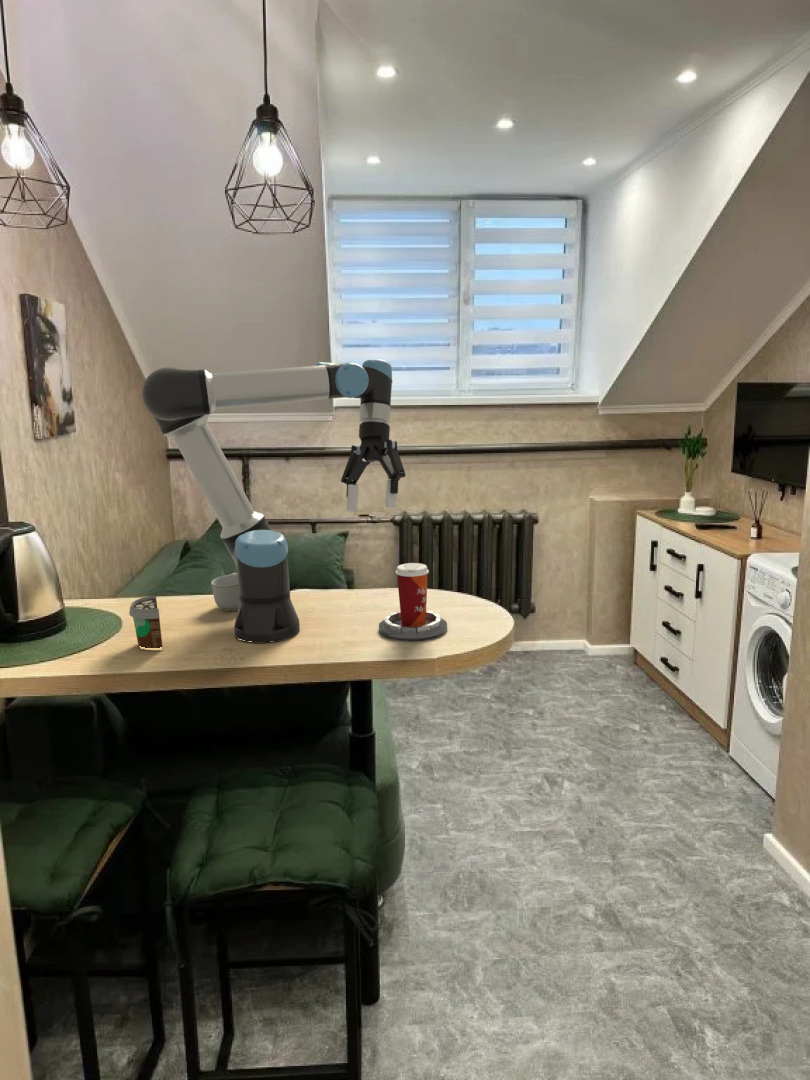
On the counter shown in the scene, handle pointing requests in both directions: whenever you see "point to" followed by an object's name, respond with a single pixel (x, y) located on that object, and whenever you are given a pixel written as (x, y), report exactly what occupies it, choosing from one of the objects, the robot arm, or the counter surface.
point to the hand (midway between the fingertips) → (370, 509)
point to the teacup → (226, 591)
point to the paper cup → (412, 593)
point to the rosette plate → (412, 628)
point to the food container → (147, 622)
